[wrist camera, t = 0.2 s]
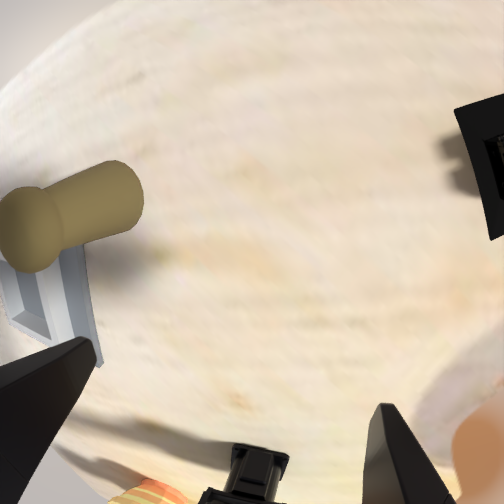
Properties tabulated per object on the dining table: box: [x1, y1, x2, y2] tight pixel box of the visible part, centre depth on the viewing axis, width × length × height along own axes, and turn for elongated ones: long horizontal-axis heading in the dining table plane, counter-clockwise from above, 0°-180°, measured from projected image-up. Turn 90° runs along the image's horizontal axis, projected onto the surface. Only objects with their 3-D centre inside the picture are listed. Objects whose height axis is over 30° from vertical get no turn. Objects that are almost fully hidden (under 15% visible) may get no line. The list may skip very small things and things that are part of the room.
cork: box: [0, 160, 144, 274], centre depth 19 cm, size 6×6×11 cm
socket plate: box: [0, 244, 104, 368], centre depth 28 cm, size 16×16×4 cm
